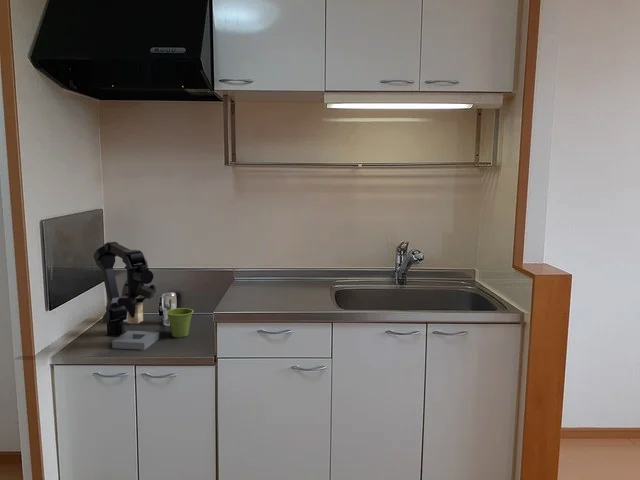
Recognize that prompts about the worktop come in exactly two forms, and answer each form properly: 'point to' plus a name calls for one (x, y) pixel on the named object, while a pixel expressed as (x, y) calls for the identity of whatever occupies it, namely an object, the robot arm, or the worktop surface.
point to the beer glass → (168, 305)
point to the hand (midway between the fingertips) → (135, 315)
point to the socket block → (135, 340)
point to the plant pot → (180, 321)
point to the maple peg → (137, 314)
